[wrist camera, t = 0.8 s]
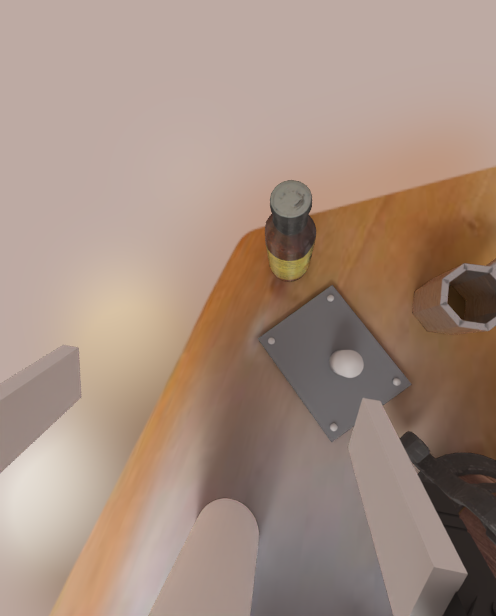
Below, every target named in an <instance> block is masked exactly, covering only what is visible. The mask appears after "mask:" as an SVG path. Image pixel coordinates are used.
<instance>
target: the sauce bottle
mask: <svg viewBox="0 0 496 616" xmlns="http://www.w3.org/2000/svg"><path fill="white" fill-rule="evenodd" d="M311 207H312V195H311V192H310V190H309V188H308V187H307V186H306V185H304V184H303V183H301V182H299V181H294V180H288V181H284V182H282V183H280V184H279V185H277V186H276V187H275V189H274V190H273V192H272V193H271V198H270V208H271V212H272V214H271V216H270V217H269V218H268V220H267V221H266V227H265V236H266V238H265V241H266V248H267V253H268V259H269V265H270V267H271V270H272V272H273V274H274V275H275V276H276V277H278V278H279V279H281V280H283V281H295V280H298V279H299V278H301V277H302V276H303V275H304V273H305V272H306V271H307V269H308V267H309V264H310V260H311V256H312V251H313V247H314V243H315V238H316V227H315V223H314V221H313V220H312V218H311V217H310V216H309V215H308V214H309V212H310V210H311Z"/></svg>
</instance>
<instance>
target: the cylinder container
mask: <svg viewBox="0 0 496 616" xmlns="http://www.w3.org/2000/svg"><path fill="white" fill-rule="evenodd" d="M258 544H259V529H258V525H257V522H256V519H255V517H254V516H253V514H252V512H251V511H250V510H249V509H248V508H247V507H246V506H245V505H244V504H242V503H240V502H239V501H236V500H233V499H228V498H223V499H217V500H215V501H212V502H211V503H209V504H208V505H206V506H205V507H204V508H203V510H202V511H201V512H200V514H199V516H198V518H197V520H196V522H195V524H194V526H193V528H192V530H191V532H190V534H189V536H188V538H187V540H186V542H185V544H184V546H183V548H182V550H181V552H180V554H179V556H178V558H177V560H176V562H175V564H174V566H173V568H172V570H171V572H170V574H169V576H168V578H167V579H166V581H165V583H164V585H163V587H162V589H161V591H160V593H159V595H158V597H157V599H156V601H155V603H154V605H153V607H152V609H151V611H150V613H149V615H148V616H250V612H251V604H252V595H253V586H254V578H255V569H256V561H257V552H258Z"/></svg>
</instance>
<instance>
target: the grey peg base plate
mask: <svg viewBox="0 0 496 616" xmlns="http://www.w3.org/2000/svg"><path fill="white" fill-rule="evenodd" d="M258 340H259V341H260V343H261V344H262V345H263V347H264V348H265V350H266V351H267V352H268V354H269V355H270V357H271V358H272V359H273V361H274V362H275V364H276V365H277V367H278V368H279V369H280V371H281V372H282V374H283V375H284V376H285V378H286V379H287V381H288V382H289V383H290V385H291V386H292V388H293V389H294V390H295V392H296V393H297V395H298V396H299V397H300V399H301V400H302V402H303V403H304V404H305V406H306V407H307V409H308V410H309V411H310V413H311V414H312V416H313V417H314V418H315V420H316V421H317V423H318V424H319V425H320V427H321V428H322V430H323V431H324V432H325V434H326V435H327V437H328V438H329V439H330V441H331V442H333V441H334V440H335V439H337V438H338V437H340V436H341V435H342V434H344V433H345V432H347V431H348V430H349V429H351V428H352V427H353V426H354V425H355V422H356V418H357V415H358V412H359V408H360V405H361V402H362V399H363V398H366V399H372V400H378V401H381V403H382V405H384V404H385V403H387V402H388V401H390V400H391V399H392V398H394V397H395V396H396V395H398V394H399V393H401V392H402V391H403V390H405V389H406V388H408V387H409V386H410V385H412V384H411V383H410V382H409V380H408V379H407V378H406V377H405V375H404V374H403V373H402V372H401V370H400V369H399V368H398V367H397V365H396V364H395V363H394V362H393V360H392V359H391V358H390V357H389V355H388V354H387V353H386V352H385V350H384V349H383V348H382V347H381V345H380V344H379V343H378V342H377V340H376V339H375V338H374V337H373V335H372V334H371V333H370V332H369V330H368V329H367V328H366V327H365V325H364V324H363V323H362V322H361V320H360V319H359V318H358V317H357V315H356V314H355V313H354V312H353V310H352V309H351V308H350V307H349V305H348V304H347V303H346V302H345V300H344V299H343V298H342V297H341V295H340V294H339V293H338V292H337V290H336V289H335V288H334V287H333V285H331V286H330V287H329V288H327V289H326V290H324V291H323V292H322V293H320V294H319V295H318V296H316V297H315V298H313V299H312V300H311V301H309V302H308V303H306V304H305V305H304V306H302V307H301V308H300V309H298V310H297V311H295V312H294V313H293V314H291V315H290V316H288V317H287V318H286V319H284V320H283V321H282V322H280V323H279V324H277V325H276V326H275V327H273V328H272V329H270V330H269V331H268V332H266V333H265V334H264V335H262V336H261V337H259V338H258Z"/></svg>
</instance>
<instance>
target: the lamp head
mask: <svg viewBox="0 0 496 616" xmlns="http://www.w3.org/2000/svg"><path fill="white" fill-rule="evenodd" d="M449 286H452V287H454V288H455V289H456V291H457V292H458V293H459V294H460V295H461V296H462V297H463V298H464V300H465V301H466V302H465V315H464V319H463V320H461V318H460V317H459V316H458V315H457V314H456V313H455V312H454V310H453V309H452V308H451V307H450V306H449V305H448V304H447V301H448V289H449ZM412 313H413V314H414V316H415V317H416V318H417V319H418V320H419V322H420V323H421V324H422V325H423V326H424V328H425V329H426V330H427V331H430V332H437V333H443V334H450V335H454V334H464V333H474V332H484V331H489V330H491V329H492V328H493V327H495V326H496V259H494V260H493V261H491V262H490V263H489V264H487V265H486V266H481V265H473V264H465V263H464V264H462V265H460V266H458V267H455V268H453V269H451V270H449V271H447V272H445V273H443V274H441V275H439V276H437V277H435V278H433V279H431V280H430V281H429V282H427V283H426V284H424V285H423V286H422V287H420V288H419V289H417V290H416V291H415V292H414V302H413V312H412Z"/></svg>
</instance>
